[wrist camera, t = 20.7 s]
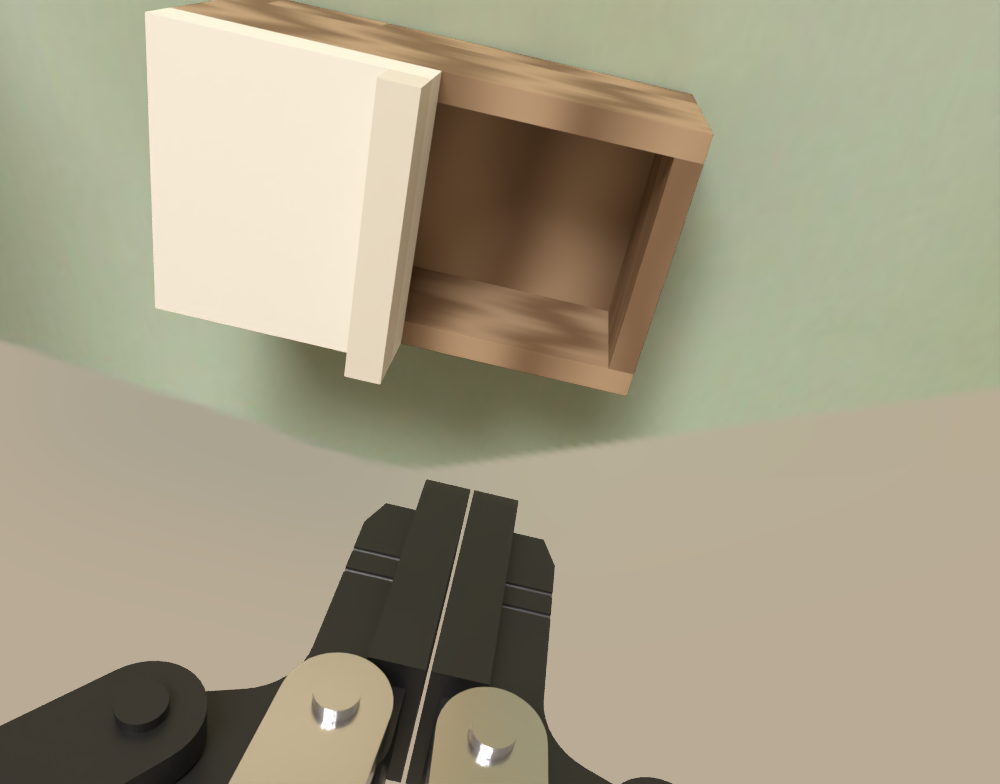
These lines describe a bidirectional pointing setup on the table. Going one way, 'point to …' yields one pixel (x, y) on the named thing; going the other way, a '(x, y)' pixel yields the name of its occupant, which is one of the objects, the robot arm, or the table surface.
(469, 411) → the table surface
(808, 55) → the table surface
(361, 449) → the table surface
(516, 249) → the box
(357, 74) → the lid
